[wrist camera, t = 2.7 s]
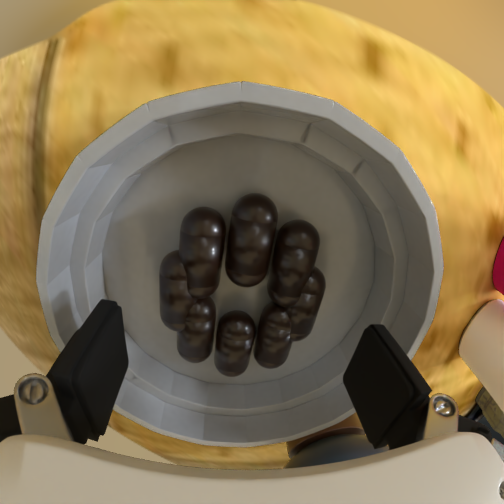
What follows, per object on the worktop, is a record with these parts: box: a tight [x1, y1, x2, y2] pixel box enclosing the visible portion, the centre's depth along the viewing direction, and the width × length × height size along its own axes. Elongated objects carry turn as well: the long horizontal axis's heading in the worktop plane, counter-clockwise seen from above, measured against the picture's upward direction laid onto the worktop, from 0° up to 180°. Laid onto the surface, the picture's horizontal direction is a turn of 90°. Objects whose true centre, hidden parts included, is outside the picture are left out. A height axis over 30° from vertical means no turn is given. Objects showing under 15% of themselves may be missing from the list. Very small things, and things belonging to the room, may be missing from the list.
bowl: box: [36, 81, 444, 447], centre depth 11 cm, size 16×16×4 cm
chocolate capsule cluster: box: [159, 193, 326, 377], centre depth 12 cm, size 9×7×2 cm
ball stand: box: [283, 412, 389, 469], centre depth 13 cm, size 9×9×12 cm
